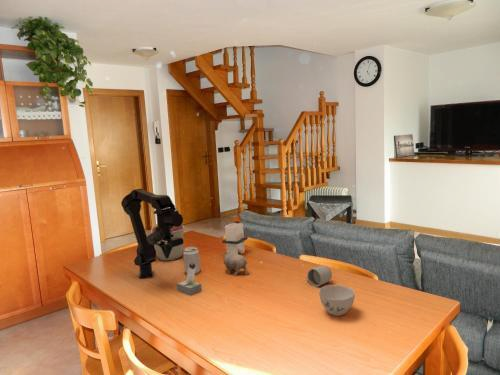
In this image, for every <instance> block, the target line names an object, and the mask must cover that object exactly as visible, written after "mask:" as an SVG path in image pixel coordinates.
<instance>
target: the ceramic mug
mask: <svg viewBox="0 0 500 375" xmlns="http://www.w3.org/2000/svg"><path fill="white" fill-rule="evenodd" d="M332 273H333V272H332V270H331V269H330V267H328V266H327V265H319V266H316V267H312V268H309V270H308V271H307V273H306V274H307V277H305V279H306V281H307V282H309V284H310V285H311V286H313V287H315V288H317V287H320V286H322V285H324V284H327V283H328V282H330V281H331V279H332V277H333V274H332Z"/></svg>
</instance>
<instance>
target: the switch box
mask: <svg viewBox="0 0 500 375" xmlns="http://www.w3.org/2000/svg"><path fill="white" fill-rule="evenodd" d="M176 291H177V292H180V293H183V294H185V295H188V296H193V295H195V294H197V293H200V292H202V291H203V290H202V283H200V282H196V281H195V280H194V281H193V283H191V284H187V283H186V279H185V280H183V281H181V282H178V283H176Z"/></svg>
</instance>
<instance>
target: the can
mask: <svg viewBox="0 0 500 375" xmlns="http://www.w3.org/2000/svg"><path fill="white" fill-rule="evenodd" d="M182 255H183V266H184V272H185V273H186V274H187V272H188V267H189V265H190V264H191V263H194V264H195V266H196V269H195V275H196V274H199V272H200V271H201V263H200V262H201V261H200V251H199V249H198V247H196V246H188V247H185V248H183V253H182Z"/></svg>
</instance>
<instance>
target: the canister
mask: <svg viewBox="0 0 500 375" xmlns="http://www.w3.org/2000/svg"><path fill="white" fill-rule="evenodd" d="M156 227H158V226H157V225H155V226H154V227H153V228H151V229H150V233H153V232H155V228H156ZM184 229H185V225H181V226H179V227H175V226H173V228H171V234H173V235H174V237H180V238H182V239H183V240H184ZM174 237H171V238H174ZM154 247H155V250H156V257H157V258H158V259H159V260H161V261H175V260H176V259H180V258H181V257H182V255H183V252H184V244H182V245H178V246H175V247H173V248H172V250H171V253H170V255H169V258H165V256H164V253H163V251H162V249H161V247H160V246H158V245H156V244H155V245H154Z"/></svg>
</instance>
